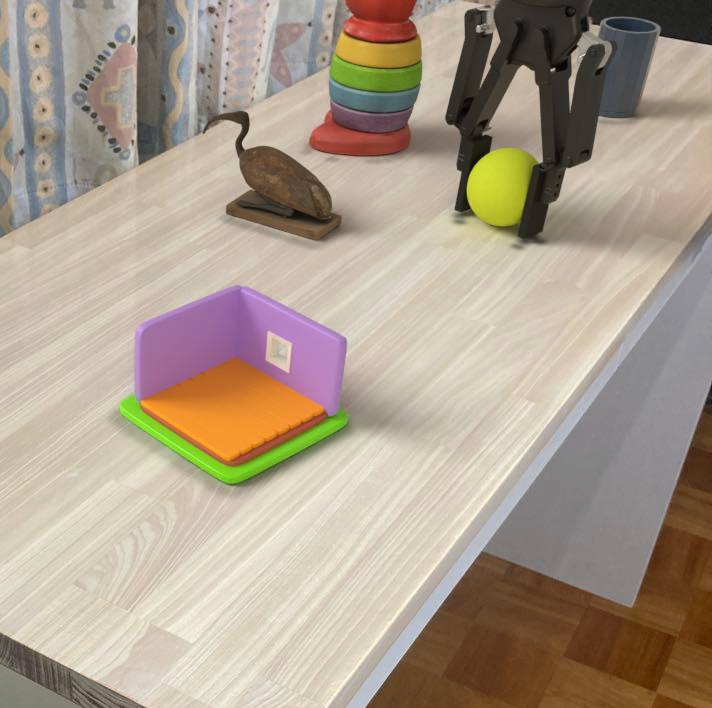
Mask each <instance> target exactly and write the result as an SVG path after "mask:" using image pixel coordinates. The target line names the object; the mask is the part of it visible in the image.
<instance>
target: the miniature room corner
mask: <svg viewBox="0 0 712 708" xmlns="http://www.w3.org/2000/svg"><path fill="white" fill-rule="evenodd" d="M280 344H283V346H286V347H287V353H286V356H284V355H282V354H280V353H279V351H280ZM347 350H348V339H347V338H346V336H344V335H342V334H341V333H338V332H337V331H335V330H333V329H331V328H329V327H327V326H325V325H324V324H321V323H319V322H318V321H316V320H314V319H312V318H311V317H308V316H306V315H304V314H302V313H301V312H298V311H296V310H295V309H292V308H290V307H289V306H287V305H284V304H282V303H281V302H279V301H277V300H275V299H273V298H271V297H270V296H267V295H266V294H263V293H261V292H259V291H258V290H255V289H253V288H251V287H249V286H247V285H243V286H242V285H238V284H235V285H232V286H228V287H226V288H224V289H221V290H219V291H215V292H214V293H210V294H209V295H206V296H203V297H201V298H197V299H196V300H193V301H192V302H188V303H186V304H184V305H182V306H179V307H177V308H174V309H172V310H170V311H167V312H164V313H162V314H160V315H158V316H154V317H152V318H150V319H148V320H146V321H144V322H142V323H140V324H139V325H138V326H137V327H136V329H135V333H134V353H133V354H134V355H133V356H134V357H133V360H134V362H133V363H134V365H133V367H134V369H133V371H134V373H133V374H134V378H133V379H134V380H133V381H134V393H133V394H131V395H129V396H128V397H126V398H124V399H123V400H121V401H120V403H119V412H120V414H121V415H122V416H123V417H125V418H126V419H127V420H128V421H130V422H132V424H134V425H136V426H137V427H139V428H140V429H141V430H143V431H144V432H146V433H147V434H149V435H150V436H151V437H153V438H155V440H157V441H159V442H160V443H162V444H163V445H165V446H166V447H168V448H169V449H171V450H172V451H175V453H177V454H178V455H180V456H181V457H183V458H184V459H186V460H188V461H189V462H190V463H192V464H194V465H195V466H197V467H199V468H200V469H201V470H203V471H204V472H206V473H207V474H209V475H211V476H212V477H213V478H215V479H217V480H219V481H220V482H223V483H225V484H228V485H234V484H239V483H241V482H244V481H246V480H248V479H251V478H252V477H253V476H256V475H258V474H260V473H262V472H264V471H265V470H267V469H269V468H271V467H273V466H275V465H277V464H279V463H281V462H282V461H284V460H286V459H289V458H290V457H292V456H294V455H296V454H297V453H300V452H302V451H303V450H305V449H307V448H308V447H310V446H312V445H314V444H316V443H318V442H320V441H322V440H324V439H325V438H327V437H329V436H330V435H332V434H334V433H337V432H338V431H339V430H341V429H343V428H344V427H345V426H346V425H347V424H348V421H349V414H348V412H346V410H345V409H343V408H342V407H340V402H341V396H342V388H343V381H344V372H345V367H346V359H347Z"/></svg>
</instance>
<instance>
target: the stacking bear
mask: <svg viewBox="0 0 712 708" xmlns="http://www.w3.org/2000/svg"><path fill="white" fill-rule="evenodd" d="M343 1H344V3H345V5H346V6H347V8H348V10H349V12H350V13H351V14H352V15H351V16H349V18H347V20H346V21H345V22H344V23H343V25H342V30H341V32H340V34H339V37H338V40H337V43H336V46H335V51H334V53H333V55H332V59H331V62H330V67H329V72H328V73H329V77H328V91H329V92H328V93H329V105H330V109H329V110H328V111H327V112H326V114H325V117H324V121H323V123H321V124H320V125H319V126H317V127H315V128H314V129H313V130H312V131H311V134H310V136H309V140H308V145H309V146H311V147H312V148H313V149H315V150H317V151H320V152H324V153H330V154H337V155H349V156H380V155H388V154H394V153H397V152H400V151H403V150H404V149H406V148H407V147H408V146H409V145H410V143H411V130H410V125H409V121H410V118H411V116H412V113H413V110H414V108H415V104H416V102H417V100H418V97H419V94H420V90H421V87H422V83H421V82H422V80H423V59H422V55H423V51H422V49H423V48H422V39H421V35H420V34H419V33H418V29H417V26H416V24H415V23H414V22H413V20H411V19H410V17H411V15H412V13H413V12H414V9H415V7H416V4H417V2H418V0H343Z"/></svg>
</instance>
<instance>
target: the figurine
mask: <svg viewBox="0 0 712 708" xmlns="http://www.w3.org/2000/svg"><path fill="white" fill-rule="evenodd" d="M222 120H223V121H230V122H233V123H235V124H238V125H240V126H241V129H240V132H239V134H238V136H237V137H236V139H235V143H234V149H235V151H236V156H237V157H238V162H239V163H238V165H239V170H240V173H241V174H242V177H243V178H244V181H245V184H246V185H247V186H248V187H249V188H250V189H249V190H247V191H245V192H244V193H242V194H241V195H239V196H238V197H236V198H235V199H233V200H232V201H230V202H228V203H227V204H226V205H225V214H227V215H231V216H233V217H237V218H241V219H244V220H248V221H251V222H254V223H257V224H261V225H263V226H266V227H270V228H274V229H277V230H280V231H284V232H287V233H289V234H292V235H293V234H294V235H297V236H300V237H303V238H307V239H310V240H314V241H317V240H319V239H320V238H321V239H322V237H324V236H325V235H327V234H328V233H330V232H331V231H333V230H334V229H335V228H336V227H338V226H339V225H340V224H342V218H343V217H342V215H341V214H338V213H334V212H332V211H333V200H332V196H331V193H330V191H329V190H328V189H327V188H326V186H325V185H324V184H323V183H322V182H321V180H320V179H319V178H318V177H317V176H316V175H315V174H314V173H313V172H312V171H310V170H309V169H308V168H307V167H306V166H304V165H303V164H301V162H298V160H296V159H295V158H294V157H292V156H291V155H289V154H287V153H286V152H284V151H282V150H280V149H278V148H275V147H274V146H270V145H257V146H254V147H250V148H244V146H243V141H244V140H245V138H246V136H247V135H248V133H249V130H250V125H251V124H250V114H249V113H248V112H247V111H245V110H237V111H233V112H223V113H220V114H217V115H214V116H212V117H211V118H210V119H209V120H208V121H207V122H206V124H205V126H204V128H203V130H202V134H203V135H205V134H206V132H207V129H208V128H209V126H210V125H211V124H212V123H214V122H216V121H222Z"/></svg>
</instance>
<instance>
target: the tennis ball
mask: <svg viewBox="0 0 712 708" xmlns="http://www.w3.org/2000/svg"><path fill="white" fill-rule="evenodd" d="M539 163H540V162H539V161H538V160H537V158H535V156H533V155H532V154H531V153H529V152H528V151H525V150H523V149H521V148H517V147H503V148H497V149H494V150H491V151H490V153H488V154H487V155H485V156H484V157H483V158H481V159H480V160H479V161H478V162H477V164H476V165H475V166H474V168H473V169H472V171H471V173H470V176H469V179H468V183H467V198H468V202H469V205H470V207H471V209H470V210H472V212H473V213H474V214H475V216H476V217H477V218H478V219H479V220H481V221H483V222H484V223H486V224H488V225H492V226H495V227H510V226H511V227H512V226H515V225H518V224H520V223H521V218H522V214H523V210H524V205H525V201H526V196H527V192H528V188H529V183H530V179H531V174H532V170H533V166H534V165H536V164H539Z"/></svg>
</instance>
